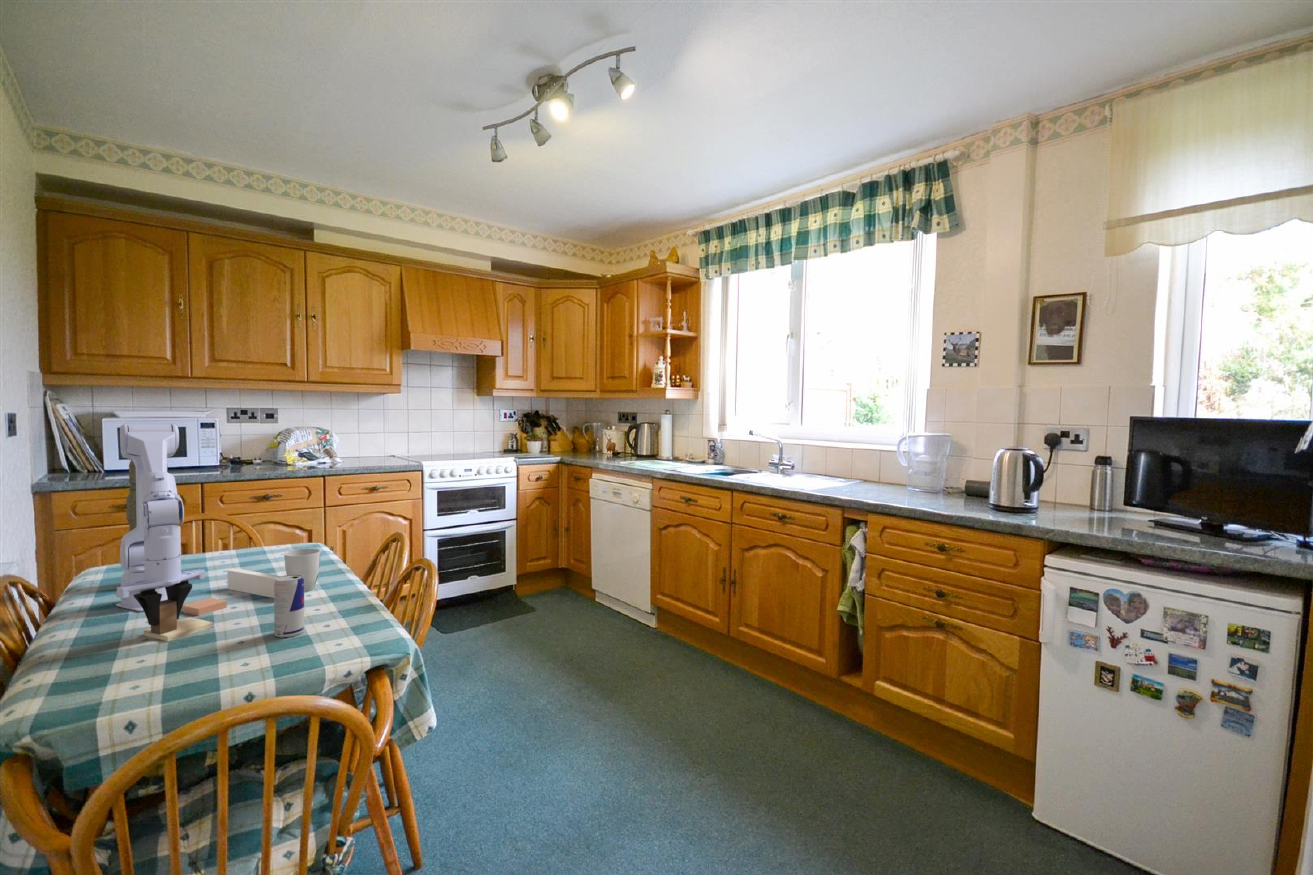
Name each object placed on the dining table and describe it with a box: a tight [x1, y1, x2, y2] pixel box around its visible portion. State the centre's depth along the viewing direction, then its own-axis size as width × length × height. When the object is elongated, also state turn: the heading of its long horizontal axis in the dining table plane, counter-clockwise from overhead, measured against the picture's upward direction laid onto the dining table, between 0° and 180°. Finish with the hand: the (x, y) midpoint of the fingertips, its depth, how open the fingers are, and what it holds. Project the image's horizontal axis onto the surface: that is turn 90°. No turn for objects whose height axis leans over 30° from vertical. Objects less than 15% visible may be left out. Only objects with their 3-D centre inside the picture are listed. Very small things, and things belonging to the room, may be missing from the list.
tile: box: [181, 597, 228, 616], centre depth 132 cm, size 6×6×2 cm
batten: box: [226, 568, 281, 599], centre depth 144 cm, size 22×2×5 cm, turn 70°
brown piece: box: [143, 599, 214, 642], centre depth 119 cm, size 8×8×7 cm
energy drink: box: [273, 574, 305, 639], centre depth 119 cm, size 5×5×12 cm
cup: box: [283, 547, 321, 593], centre depth 148 cm, size 8×8×10 cm
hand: (163, 621), depth 117 cm, fingers closed on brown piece, 3 cm apart
